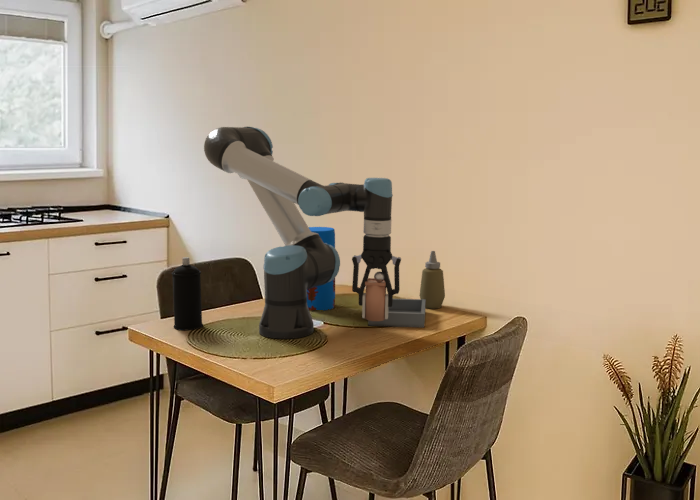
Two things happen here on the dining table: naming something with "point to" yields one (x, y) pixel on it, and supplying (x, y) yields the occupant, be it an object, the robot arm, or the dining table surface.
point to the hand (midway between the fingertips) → (375, 317)
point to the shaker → (375, 300)
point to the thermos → (325, 294)
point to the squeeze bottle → (432, 283)
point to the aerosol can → (187, 297)
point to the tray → (404, 314)
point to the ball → (379, 276)
